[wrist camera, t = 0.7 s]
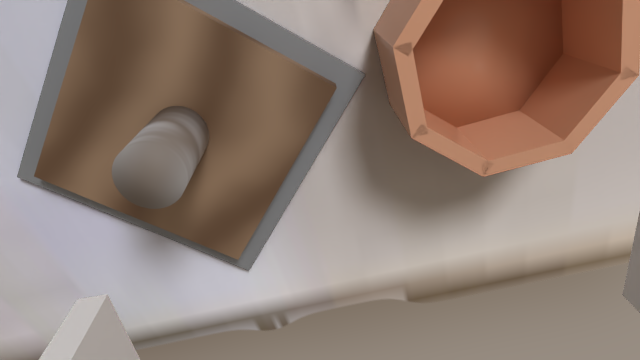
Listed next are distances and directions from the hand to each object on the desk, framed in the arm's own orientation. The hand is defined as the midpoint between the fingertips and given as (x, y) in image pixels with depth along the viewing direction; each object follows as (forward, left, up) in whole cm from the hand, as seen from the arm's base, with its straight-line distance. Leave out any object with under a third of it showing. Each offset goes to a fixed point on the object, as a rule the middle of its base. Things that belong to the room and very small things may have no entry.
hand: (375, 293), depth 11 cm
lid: (-8, -8, -22) cm, 24 cm away
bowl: (+7, +7, -22) cm, 25 cm away
